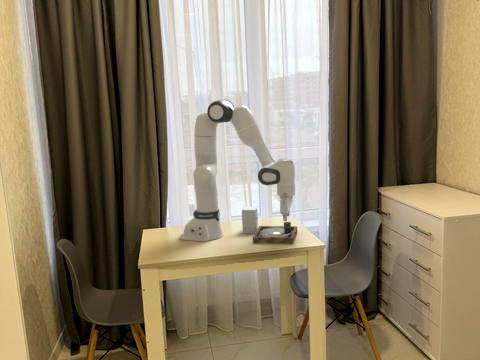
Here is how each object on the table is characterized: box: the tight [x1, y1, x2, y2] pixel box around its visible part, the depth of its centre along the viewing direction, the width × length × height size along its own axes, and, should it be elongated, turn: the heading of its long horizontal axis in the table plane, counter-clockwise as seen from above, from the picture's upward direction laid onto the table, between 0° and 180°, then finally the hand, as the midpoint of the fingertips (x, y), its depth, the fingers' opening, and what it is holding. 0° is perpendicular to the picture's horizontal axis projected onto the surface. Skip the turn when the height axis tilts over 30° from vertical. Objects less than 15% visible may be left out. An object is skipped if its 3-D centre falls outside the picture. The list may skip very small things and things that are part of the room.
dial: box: [260, 221, 292, 237], centre depth 248 cm, size 16×16×7 cm
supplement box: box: [241, 206, 259, 234], centre depth 261 cm, size 7×7×13 cm
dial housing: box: [252, 225, 298, 245], centre depth 249 cm, size 20×20×3 cm
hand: (286, 218), depth 246 cm, fingers open, 8 cm apart
